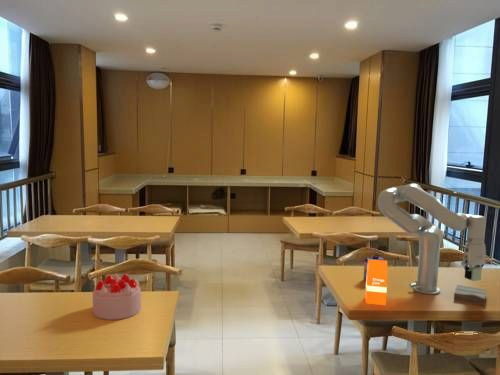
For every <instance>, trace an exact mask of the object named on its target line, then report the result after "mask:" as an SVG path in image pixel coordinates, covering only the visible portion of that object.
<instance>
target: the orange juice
mask: <svg viewBox="0 0 500 375" xmlns="http://www.w3.org/2000/svg"><path fill="white" fill-rule="evenodd" d="M387 288H388V260H385V261H383V260H370V259H368V265H367V276H366V280H365V304H370V305H379V306H380V305H381V306H386V303H387V293H388V292H387V291H388V289H387Z"/></svg>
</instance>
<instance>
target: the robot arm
mask: <svg viewBox="0 0 500 375" xmlns="http://www.w3.org/2000/svg"><path fill="white" fill-rule="evenodd" d="M406 201H408V202H409V203H410V204H412V205H414V206H416V207H418V208H419V209H421V210H423V211H424V212H426V213H427V214H428V215H430V216H431V217H432V218H434V219H435V220H436V221H438V222H439V223H441V224H442V225H444V226H446V227H448V228H449V229H451V230H453V231H455V232H461V231H463V230H464V229H467V231H466V240H465V245H464V249H463V250H464V251H463V257H462V262H461V263H460V265H461V266H462V268H464V277H465V278H464V279H466V278H467V279H466V280H469V279H471V274H472V271H471V268H472V266H478V267H481V268H482V269H483V267H484V266H485V264H487V252H486V251H487V249H486V248H487V247H486V244H485V235H486V234H485V233H486V225H487V224H486V223H487V219H486V217H485V216H483V215H478V214H468V213H463V212H454V211H452V210H450V209H449V208H447V207H446V206H445V205H444V204H443V203H442V201H441V200H440V199H439V198H438V197H436V196H434V195H433V194H432V193H429V192H428V191H425V190H424V189H423V188H422V187H421V185H420V184H418V183H413V182H412V183H408V184H405V185H404V184H403V185H398V186H392V187H389V188H385V189H384V190H382V191H380V193H379V195H378V198H377V206H378V209H379V211H380V213H382V215H383V216H385V217H386V218H387V219H388V220H390V221H391V222H393V223H394V224H395V225H396V226H397V227H399V228H401V229H402V230H404V232H406V233H407V234H409V235H417V236H418V237H419V240H418V246H419V248H418V249H419V250H418V265H417V266H418V267H417V277H416V278H417V280H415V281H414V283H409V285H408V286H409V288H413V290H414V291H415V292H418V293H421V294H425V295H438V294H440V293H441V289H440V288H439V287H438V281H439V280H438V277H439V266H440V265H439V264H440V248H441V243H442V241H443V238H444V233H443V231H442V230H441V228H439V227H438V226H437V225H435V224H434V223H432V222H431V221H430V220H428V219H427V218H425V217H424V216H422V215H421V214H417V213H410V212H408V211H407V210H405V209H404V208H403V207H401V206H399V205H398V204H397V203H401V202H406ZM468 266H469V267H468Z"/></svg>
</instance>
